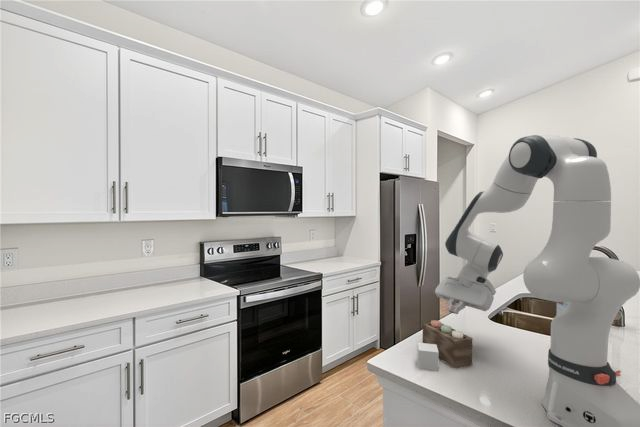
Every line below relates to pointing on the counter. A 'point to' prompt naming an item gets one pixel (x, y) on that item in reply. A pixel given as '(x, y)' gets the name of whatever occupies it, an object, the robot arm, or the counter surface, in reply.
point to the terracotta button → (435, 323)
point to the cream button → (457, 334)
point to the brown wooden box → (449, 346)
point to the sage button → (446, 329)
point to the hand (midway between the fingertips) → (452, 312)
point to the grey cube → (428, 356)
